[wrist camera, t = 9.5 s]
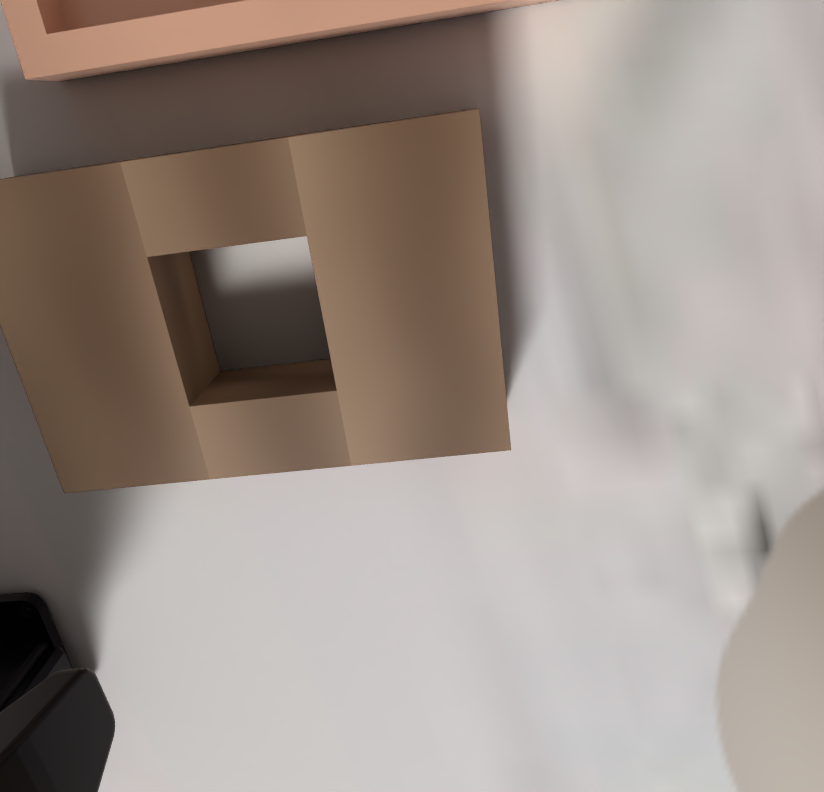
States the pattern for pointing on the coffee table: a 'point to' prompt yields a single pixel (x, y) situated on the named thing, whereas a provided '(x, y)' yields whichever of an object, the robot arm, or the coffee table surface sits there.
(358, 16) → the terracotta dish
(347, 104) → the coffee table surface
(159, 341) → the clamp block
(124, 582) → the coffee table surface
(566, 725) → the coffee table surface
